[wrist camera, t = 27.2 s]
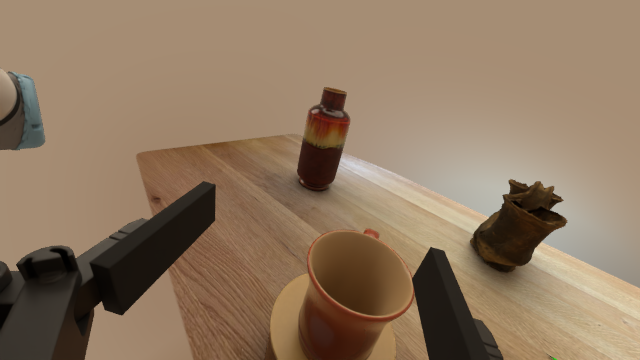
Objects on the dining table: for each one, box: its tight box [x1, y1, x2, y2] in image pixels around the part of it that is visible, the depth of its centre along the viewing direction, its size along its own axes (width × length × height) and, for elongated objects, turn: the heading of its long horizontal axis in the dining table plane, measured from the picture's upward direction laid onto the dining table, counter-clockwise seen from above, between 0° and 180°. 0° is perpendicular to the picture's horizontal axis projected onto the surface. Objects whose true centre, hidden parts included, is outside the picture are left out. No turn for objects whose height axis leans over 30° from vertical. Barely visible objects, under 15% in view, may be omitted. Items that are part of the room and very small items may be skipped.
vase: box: [297, 87, 350, 191], centre depth 63 cm, size 11×11×26 cm
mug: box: [298, 229, 414, 360], centre depth 23 cm, size 12×9×10 cm
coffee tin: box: [265, 273, 396, 360], centre depth 27 cm, size 13×13×8 cm
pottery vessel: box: [470, 179, 567, 272], centre depth 51 cm, size 25×11×20 cm, turn 136°
